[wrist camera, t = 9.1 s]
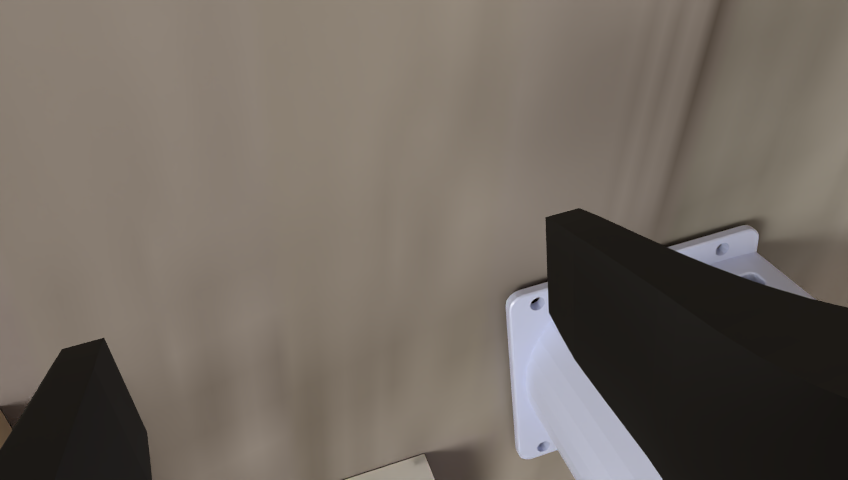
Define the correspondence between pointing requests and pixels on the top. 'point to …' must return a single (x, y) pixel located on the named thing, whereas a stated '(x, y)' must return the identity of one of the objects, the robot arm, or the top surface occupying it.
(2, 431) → the block
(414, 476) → the tray
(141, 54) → the top surface
